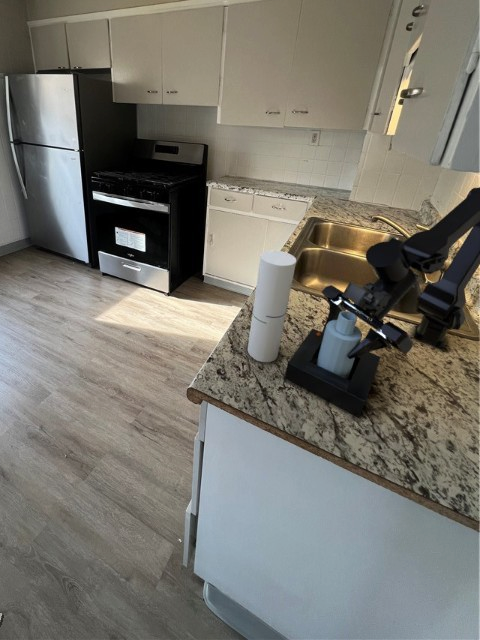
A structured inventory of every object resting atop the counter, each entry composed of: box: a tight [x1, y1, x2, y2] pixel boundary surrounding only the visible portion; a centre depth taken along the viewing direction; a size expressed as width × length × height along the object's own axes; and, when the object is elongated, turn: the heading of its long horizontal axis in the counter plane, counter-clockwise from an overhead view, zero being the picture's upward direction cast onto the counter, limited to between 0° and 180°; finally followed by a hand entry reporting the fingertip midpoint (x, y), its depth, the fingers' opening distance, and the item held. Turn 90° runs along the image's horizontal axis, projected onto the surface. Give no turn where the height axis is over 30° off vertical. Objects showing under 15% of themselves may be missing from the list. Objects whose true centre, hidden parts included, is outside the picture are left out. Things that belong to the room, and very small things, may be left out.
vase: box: [316, 310, 363, 380], centre depth 65 cm, size 7×7×14 cm
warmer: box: [284, 327, 381, 419], centre depth 68 cm, size 15×15×5 cm
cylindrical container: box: [247, 250, 297, 363], centre depth 70 cm, size 7×7×25 cm
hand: (334, 346), depth 65 cm, fingers closed on vase, 7 cm apart
